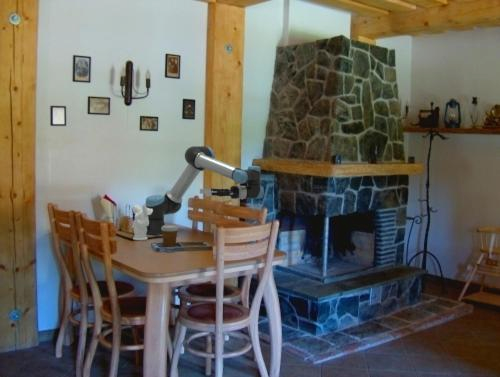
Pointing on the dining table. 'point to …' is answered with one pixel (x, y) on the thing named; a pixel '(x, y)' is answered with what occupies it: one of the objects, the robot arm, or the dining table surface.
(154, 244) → the two-bay frame
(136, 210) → the cherub figurine
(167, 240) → the disposable coffee cup
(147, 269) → the dining table surface
